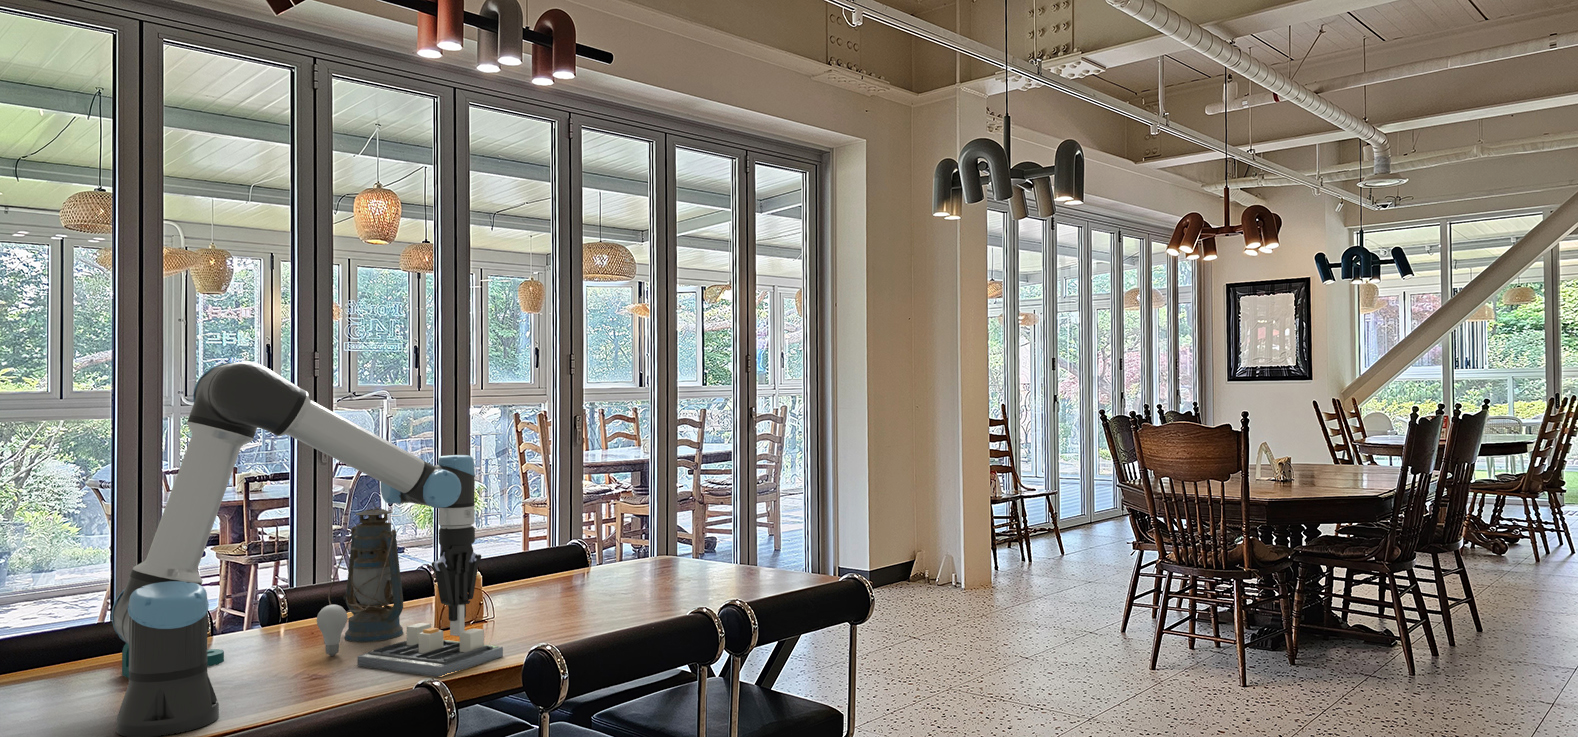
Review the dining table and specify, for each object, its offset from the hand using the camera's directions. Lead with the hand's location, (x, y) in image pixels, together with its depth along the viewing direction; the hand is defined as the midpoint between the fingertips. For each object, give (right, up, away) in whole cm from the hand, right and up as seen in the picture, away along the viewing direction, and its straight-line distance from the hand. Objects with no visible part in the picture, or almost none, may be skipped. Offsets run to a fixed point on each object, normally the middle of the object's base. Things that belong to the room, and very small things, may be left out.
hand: (457, 634), depth 226 cm
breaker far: (-8, -2, 0) cm, 8 cm away
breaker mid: (-3, -2, -7) cm, 8 cm away
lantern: (-25, -5, +17) cm, 31 cm away
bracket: (-55, -5, -10) cm, 56 cm away
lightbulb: (-27, -4, -1) cm, 27 cm away
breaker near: (+5, -2, -7) cm, 9 cm away
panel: (-3, -4, -7) cm, 9 cm away
